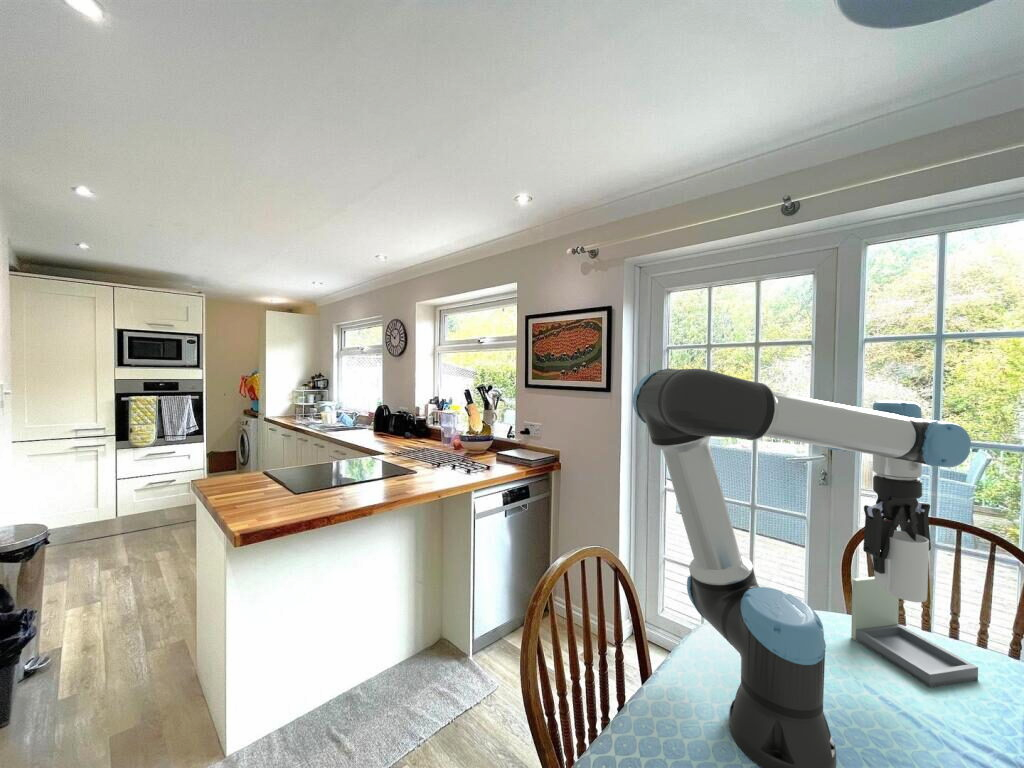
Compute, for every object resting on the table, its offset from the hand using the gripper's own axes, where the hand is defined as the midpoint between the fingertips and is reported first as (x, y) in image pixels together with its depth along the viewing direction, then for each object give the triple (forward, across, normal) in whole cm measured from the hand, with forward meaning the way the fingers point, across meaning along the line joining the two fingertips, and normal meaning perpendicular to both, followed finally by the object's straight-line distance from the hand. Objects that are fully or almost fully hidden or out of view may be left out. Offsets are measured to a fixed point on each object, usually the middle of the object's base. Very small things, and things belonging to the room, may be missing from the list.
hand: (897, 585), depth 88 cm
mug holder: (+18, +7, +2) cm, 19 cm away
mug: (+1, 0, 0) cm, 1 cm away
